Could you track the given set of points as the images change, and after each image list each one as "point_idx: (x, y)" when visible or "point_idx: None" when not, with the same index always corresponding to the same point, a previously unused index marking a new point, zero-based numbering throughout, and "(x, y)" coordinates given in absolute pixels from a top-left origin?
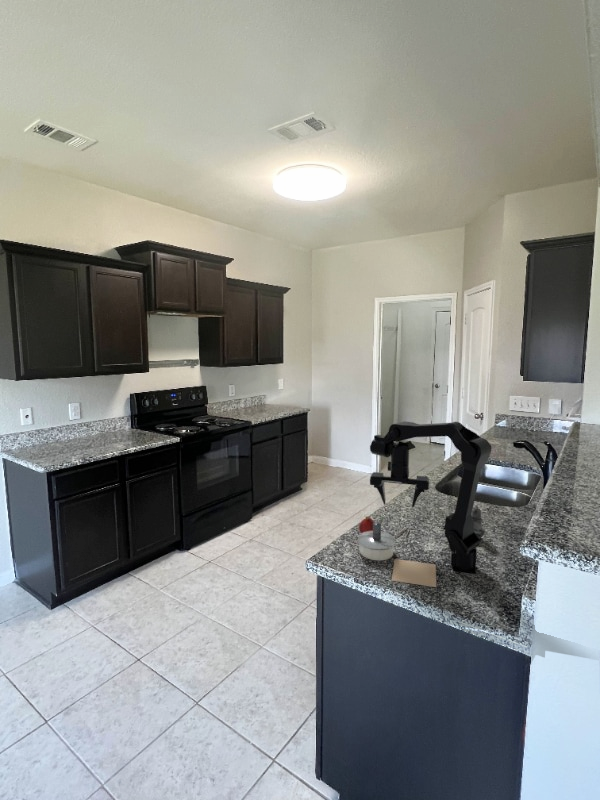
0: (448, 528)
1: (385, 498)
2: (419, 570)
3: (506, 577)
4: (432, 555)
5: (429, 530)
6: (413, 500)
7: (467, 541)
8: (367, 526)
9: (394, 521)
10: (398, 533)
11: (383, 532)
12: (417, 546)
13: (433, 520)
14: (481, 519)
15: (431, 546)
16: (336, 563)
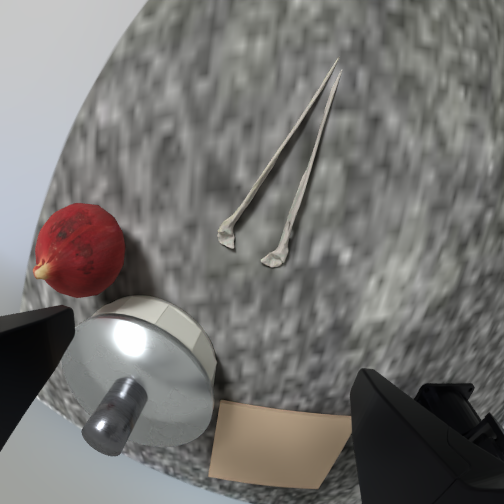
0: None
1: (41, 323)
2: (294, 449)
3: (497, 415)
4: (373, 359)
5: (423, 123)
6: (363, 484)
7: (489, 430)
8: (69, 294)
9: (251, 25)
10: (254, 191)
11: (152, 339)
12: (334, 296)
13: (445, 25)
14: None
15: (395, 290)
16: (60, 397)
